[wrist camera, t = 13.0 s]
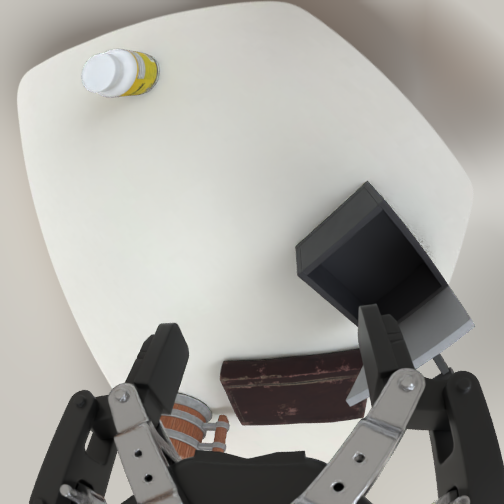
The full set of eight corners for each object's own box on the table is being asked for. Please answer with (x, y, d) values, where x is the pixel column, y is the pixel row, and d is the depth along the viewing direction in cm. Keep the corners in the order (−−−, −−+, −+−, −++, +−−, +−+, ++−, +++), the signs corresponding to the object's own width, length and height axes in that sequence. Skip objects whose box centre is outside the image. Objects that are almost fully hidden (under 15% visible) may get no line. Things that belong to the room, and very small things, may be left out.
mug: (143, 390, 60) (123, 444, 47) (221, 389, 56) (208, 454, 43) (170, 421, 67) (156, 469, 54) (241, 421, 63) (233, 477, 50)
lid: (345, 400, 23) (375, 441, 21) (470, 318, 18) (498, 368, 16) (373, 341, 37) (393, 371, 36) (448, 285, 32) (469, 317, 30)
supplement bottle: (123, 99, 31) (77, 105, 23) (120, 59, 29) (73, 55, 20) (162, 90, 31) (123, 92, 22) (159, 49, 28) (119, 38, 20)
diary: (222, 357, 51) (217, 378, 47) (366, 342, 47) (372, 365, 42) (245, 410, 60) (242, 429, 55) (360, 400, 55) (363, 419, 51)
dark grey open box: (295, 246, 39) (296, 275, 33) (367, 180, 34) (384, 199, 28) (365, 310, 43) (374, 341, 37) (429, 258, 38) (448, 285, 32)
